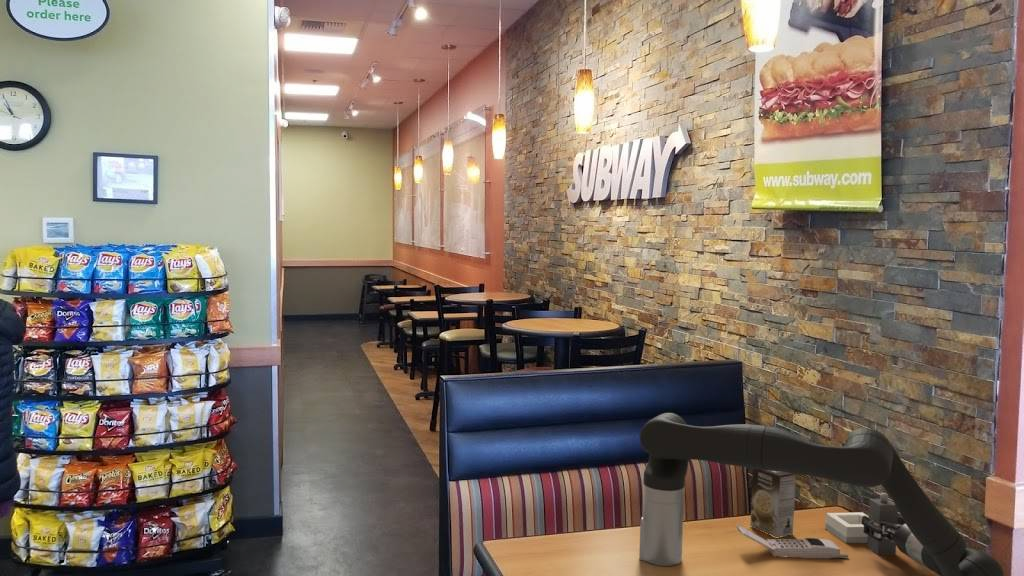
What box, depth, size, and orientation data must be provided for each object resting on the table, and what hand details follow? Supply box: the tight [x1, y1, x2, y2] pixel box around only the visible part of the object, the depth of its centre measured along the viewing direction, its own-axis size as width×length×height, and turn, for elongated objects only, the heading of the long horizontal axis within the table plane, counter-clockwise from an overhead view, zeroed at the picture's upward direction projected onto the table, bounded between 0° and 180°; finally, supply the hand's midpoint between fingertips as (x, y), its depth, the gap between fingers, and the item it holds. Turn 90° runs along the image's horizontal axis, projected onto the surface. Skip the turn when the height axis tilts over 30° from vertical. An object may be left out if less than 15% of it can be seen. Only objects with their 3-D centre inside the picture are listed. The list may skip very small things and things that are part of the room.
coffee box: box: [749, 468, 797, 537], centre depth 201 cm, size 9×6×16 cm
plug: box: [866, 492, 899, 556], centre depth 189 cm, size 4×4×14 cm
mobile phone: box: [736, 524, 849, 559], centre depth 187 cm, size 6×6×25 cm
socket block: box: [824, 511, 869, 544], centre depth 199 cm, size 10×10×4 cm
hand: (880, 519), depth 190 cm, fingers open, 8 cm apart
